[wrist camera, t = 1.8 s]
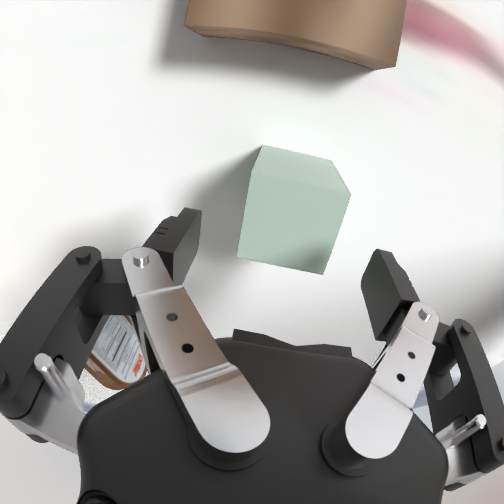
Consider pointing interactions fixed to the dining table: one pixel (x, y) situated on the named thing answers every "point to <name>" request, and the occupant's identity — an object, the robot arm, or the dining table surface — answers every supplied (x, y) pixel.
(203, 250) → the dining table surface
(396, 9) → the walnut base
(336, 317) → the dining table surface
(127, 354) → the tin
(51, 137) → the dining table surface
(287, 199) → the sage block
